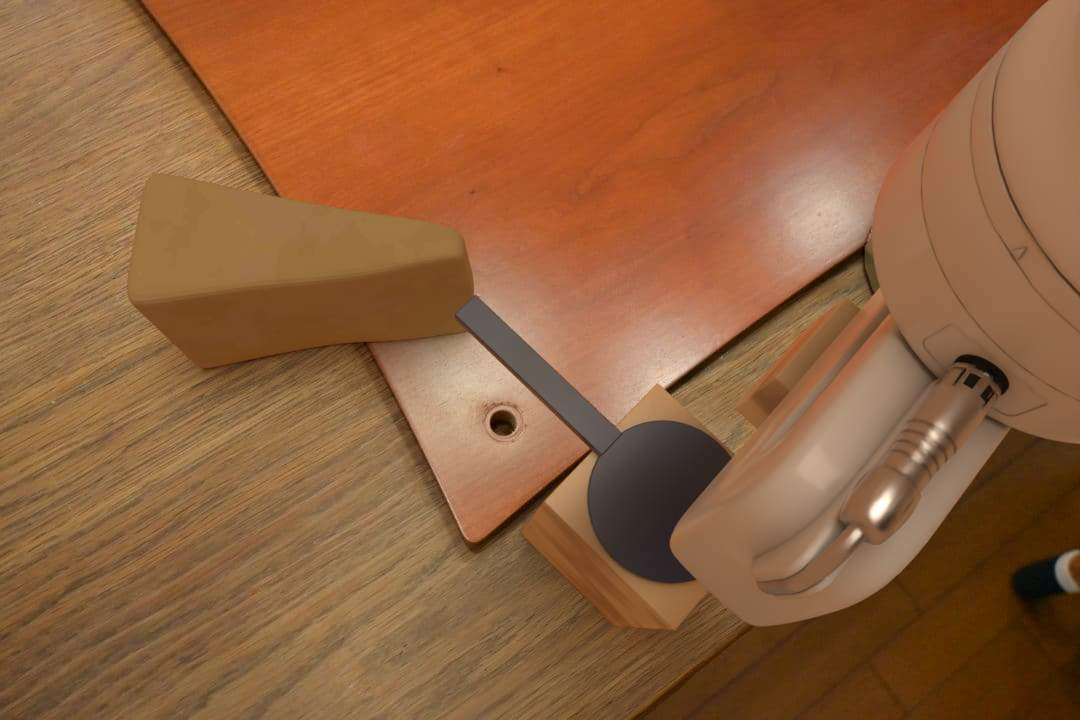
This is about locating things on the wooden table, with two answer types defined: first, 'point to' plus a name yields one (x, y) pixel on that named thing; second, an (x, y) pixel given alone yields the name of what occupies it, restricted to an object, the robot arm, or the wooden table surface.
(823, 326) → the wooden block
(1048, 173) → the robot arm
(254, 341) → the tan wooden wedge
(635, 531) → the spoon stand
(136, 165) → the wooden table surface
